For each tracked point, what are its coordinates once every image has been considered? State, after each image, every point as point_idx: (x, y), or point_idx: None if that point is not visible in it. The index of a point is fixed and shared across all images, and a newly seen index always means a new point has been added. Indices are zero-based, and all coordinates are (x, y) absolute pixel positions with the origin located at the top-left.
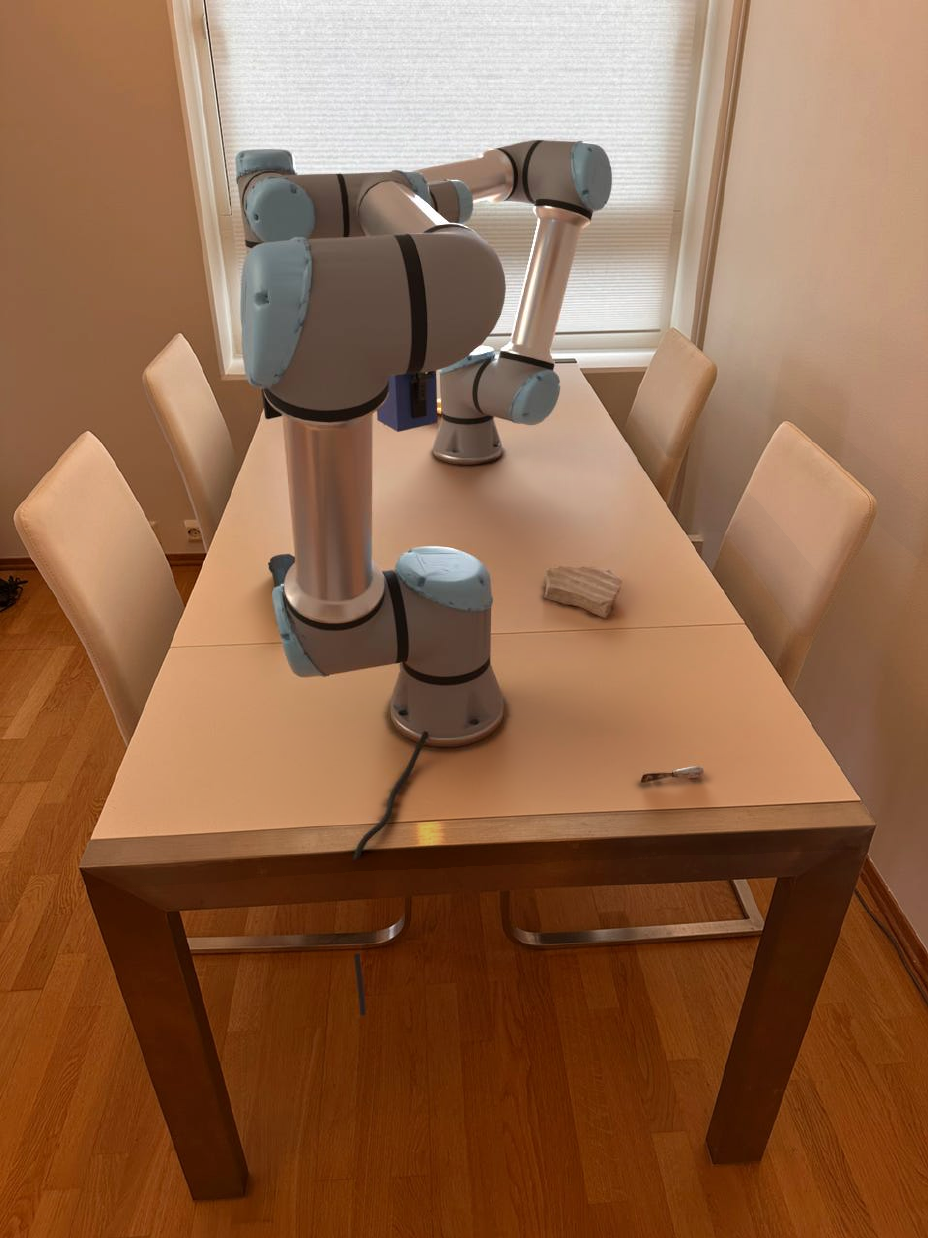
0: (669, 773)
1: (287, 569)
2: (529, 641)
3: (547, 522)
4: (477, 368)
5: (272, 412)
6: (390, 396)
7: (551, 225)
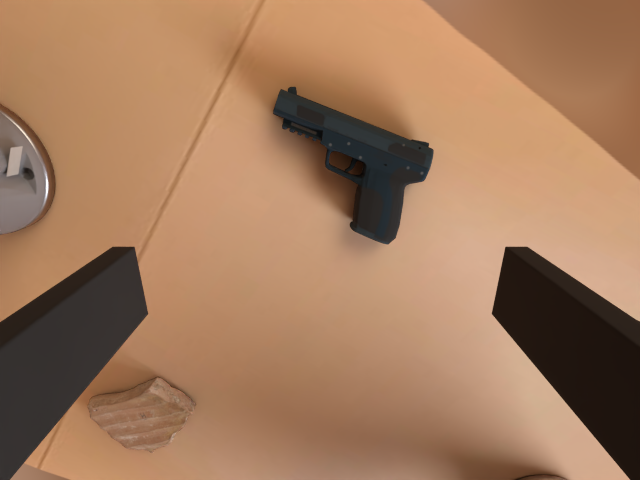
0: None
1: (378, 155)
2: None
3: (312, 468)
4: None
5: (513, 284)
6: None
7: None
